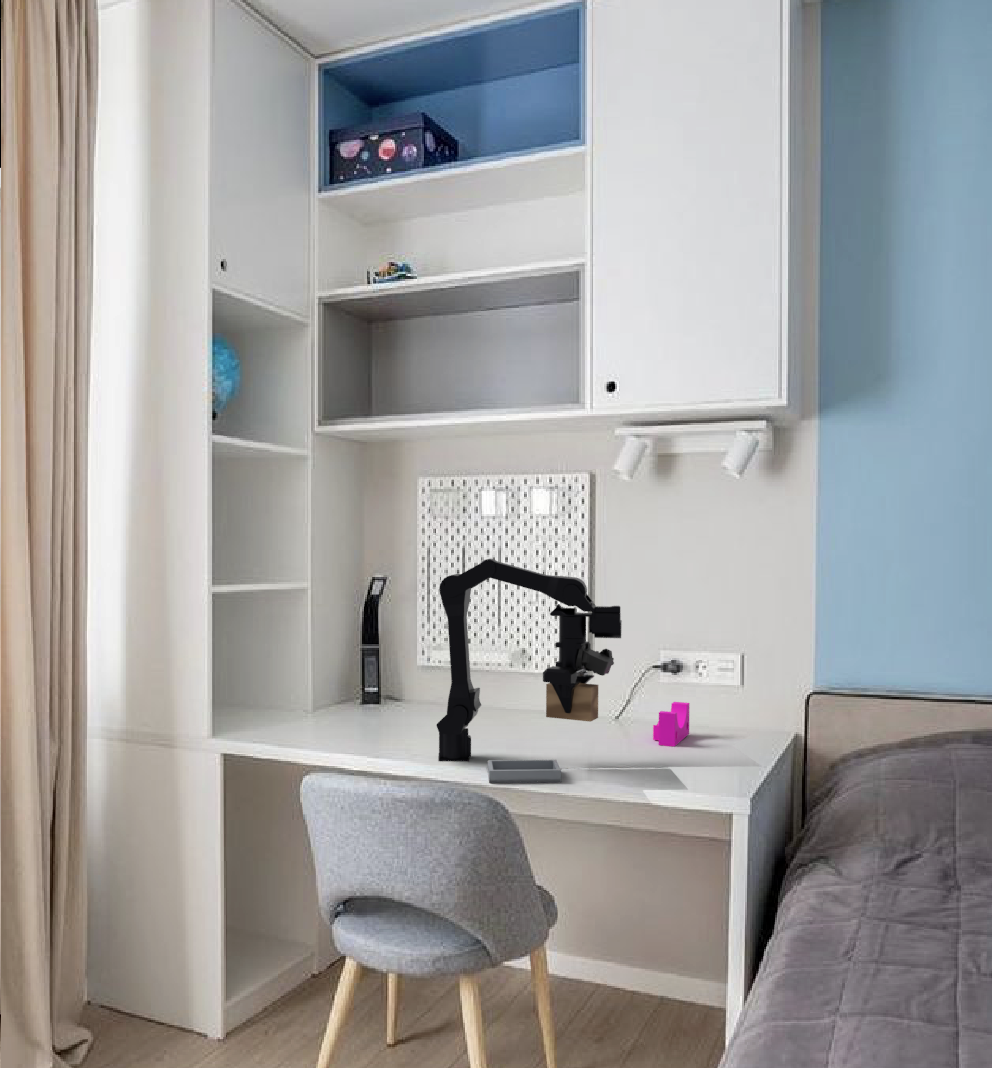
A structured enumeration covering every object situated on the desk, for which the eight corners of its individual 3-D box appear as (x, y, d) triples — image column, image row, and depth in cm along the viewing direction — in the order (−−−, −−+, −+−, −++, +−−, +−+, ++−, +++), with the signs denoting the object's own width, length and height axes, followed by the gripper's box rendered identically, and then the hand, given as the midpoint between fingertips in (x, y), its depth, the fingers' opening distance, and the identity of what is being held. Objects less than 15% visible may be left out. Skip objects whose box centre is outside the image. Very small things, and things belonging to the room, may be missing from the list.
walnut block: (590, 721, 203) (590, 687, 203) (546, 717, 207) (546, 684, 207) (598, 717, 207) (598, 684, 207) (554, 713, 211) (554, 681, 211)
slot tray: (489, 783, 192) (489, 770, 192) (487, 771, 201) (487, 760, 201) (560, 782, 193) (560, 770, 193) (556, 771, 201) (556, 759, 201)
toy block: (663, 731, 241) (664, 700, 241) (689, 733, 238) (689, 702, 238) (647, 743, 227) (648, 711, 227) (674, 746, 225) (674, 713, 225)
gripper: (593, 644, 195) (593, 722, 195) (623, 634, 212) (622, 706, 212) (541, 641, 200) (541, 717, 200) (574, 632, 217) (574, 702, 217)
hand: (572, 711), depth 207 cm, fingers closed on walnut block, 4 cm apart
